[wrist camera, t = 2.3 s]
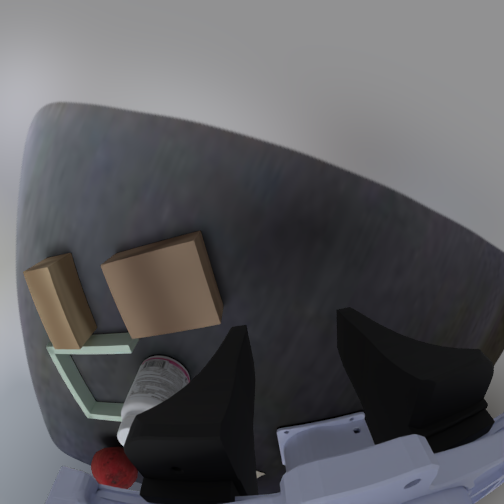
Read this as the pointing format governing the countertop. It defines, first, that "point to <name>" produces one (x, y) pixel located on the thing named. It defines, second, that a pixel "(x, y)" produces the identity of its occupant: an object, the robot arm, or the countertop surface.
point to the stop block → (61, 301)
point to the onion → (113, 468)
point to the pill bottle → (151, 389)
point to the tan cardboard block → (165, 286)
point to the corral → (75, 382)
